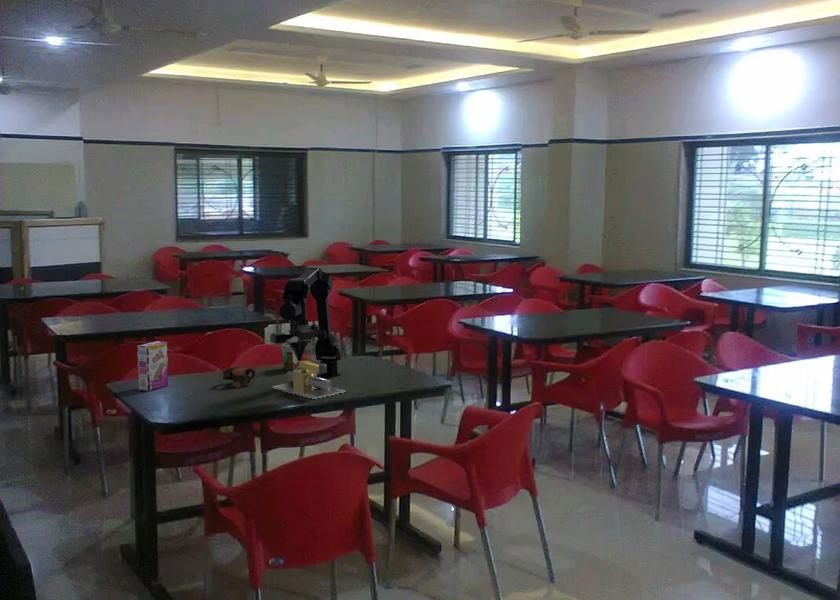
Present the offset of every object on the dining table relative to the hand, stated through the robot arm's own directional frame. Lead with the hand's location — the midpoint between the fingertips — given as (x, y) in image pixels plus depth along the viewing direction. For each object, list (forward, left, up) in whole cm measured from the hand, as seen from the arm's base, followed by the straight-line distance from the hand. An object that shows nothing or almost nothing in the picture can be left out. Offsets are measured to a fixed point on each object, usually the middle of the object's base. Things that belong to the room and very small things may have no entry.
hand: (299, 360), depth 294 cm
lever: (-1, +7, -4) cm, 8 cm away
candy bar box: (-48, -29, -13) cm, 57 cm away
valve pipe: (-4, +7, -13) cm, 15 cm away
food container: (-39, +25, -13) cm, 48 cm away
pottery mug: (-29, -5, -13) cm, 32 cm away
